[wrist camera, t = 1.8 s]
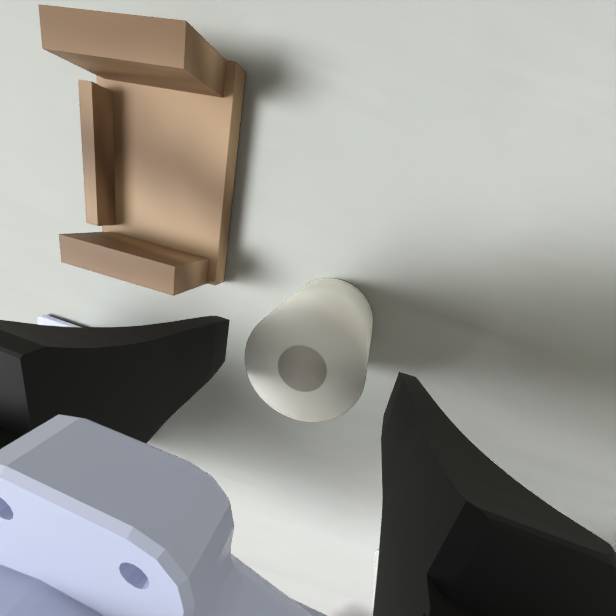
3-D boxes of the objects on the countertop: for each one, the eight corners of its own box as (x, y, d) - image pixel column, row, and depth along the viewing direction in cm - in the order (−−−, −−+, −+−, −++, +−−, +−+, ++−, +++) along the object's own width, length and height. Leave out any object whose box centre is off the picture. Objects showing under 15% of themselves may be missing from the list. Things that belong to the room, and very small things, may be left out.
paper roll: (360, 368, 18) (347, 439, 12) (282, 344, 19) (237, 400, 13) (383, 290, 16) (381, 330, 10) (297, 268, 17) (252, 294, 11)
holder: (223, 281, 18) (182, 298, 15) (116, 251, 20) (54, 259, 16) (245, 71, 15) (197, 22, 11) (112, 53, 16) (29, 3, 12)
